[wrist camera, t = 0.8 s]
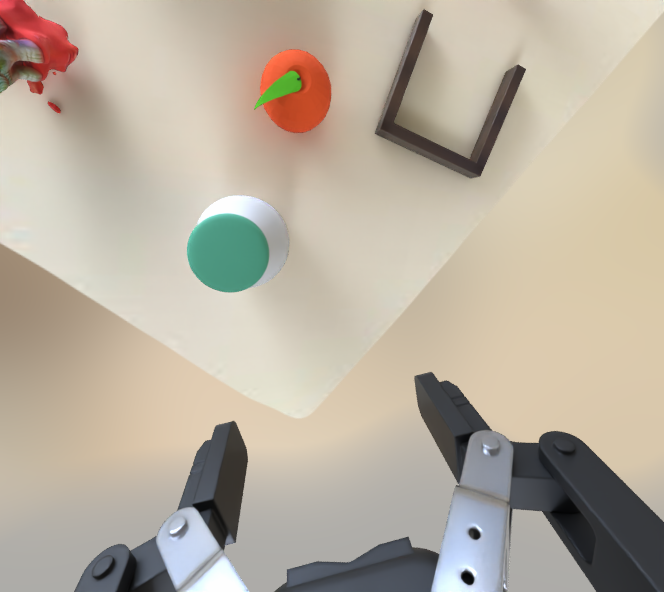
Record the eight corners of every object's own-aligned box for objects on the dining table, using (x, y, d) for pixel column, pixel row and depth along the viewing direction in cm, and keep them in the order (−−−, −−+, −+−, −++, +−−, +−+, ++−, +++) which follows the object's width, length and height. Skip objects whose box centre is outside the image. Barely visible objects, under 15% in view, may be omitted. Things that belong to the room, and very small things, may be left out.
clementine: (272, 154, 36) (271, 140, 29) (240, 90, 34) (231, 57, 27) (336, 123, 36) (350, 101, 29) (308, 57, 34) (316, 17, 27)
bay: (470, 178, 40) (480, 176, 38) (374, 133, 37) (379, 129, 35) (513, 76, 38) (526, 68, 36) (415, 20, 35) (423, 8, 33)
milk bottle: (296, 217, 38) (315, 218, 19) (272, 277, 39) (268, 336, 20) (232, 189, 36) (179, 158, 17) (209, 253, 37) (136, 292, 18)
